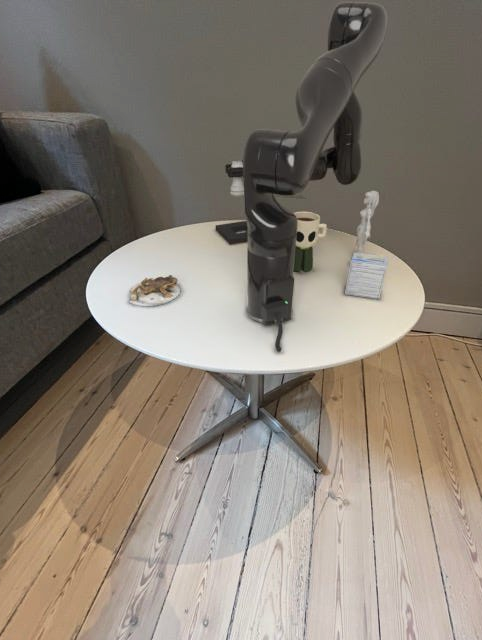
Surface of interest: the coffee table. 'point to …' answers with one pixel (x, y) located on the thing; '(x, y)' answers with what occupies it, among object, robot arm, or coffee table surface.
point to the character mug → (307, 239)
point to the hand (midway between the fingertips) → (227, 170)
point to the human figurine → (366, 213)
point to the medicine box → (366, 275)
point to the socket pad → (233, 232)
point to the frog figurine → (154, 291)
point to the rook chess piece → (237, 182)
